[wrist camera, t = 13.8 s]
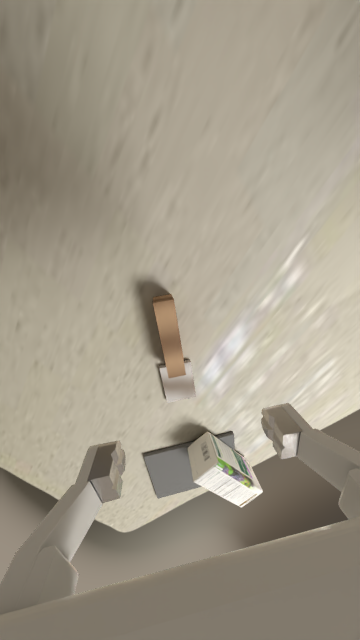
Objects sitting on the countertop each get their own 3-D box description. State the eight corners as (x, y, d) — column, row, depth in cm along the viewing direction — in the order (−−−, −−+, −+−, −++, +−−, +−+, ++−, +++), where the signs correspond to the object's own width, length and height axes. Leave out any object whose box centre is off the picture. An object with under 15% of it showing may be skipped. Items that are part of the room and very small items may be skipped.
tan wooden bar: (144, 298, 23) (142, 305, 20) (179, 292, 24) (183, 297, 20) (166, 399, 29) (168, 417, 26) (194, 392, 30) (199, 409, 26)
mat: (232, 431, 34) (233, 434, 34) (234, 474, 39) (236, 477, 39) (143, 453, 33) (143, 457, 32) (157, 495, 38) (157, 498, 37)
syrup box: (207, 429, 32) (249, 458, 37) (185, 448, 33) (229, 474, 38) (218, 462, 27) (265, 491, 32) (191, 483, 28) (241, 509, 33)
